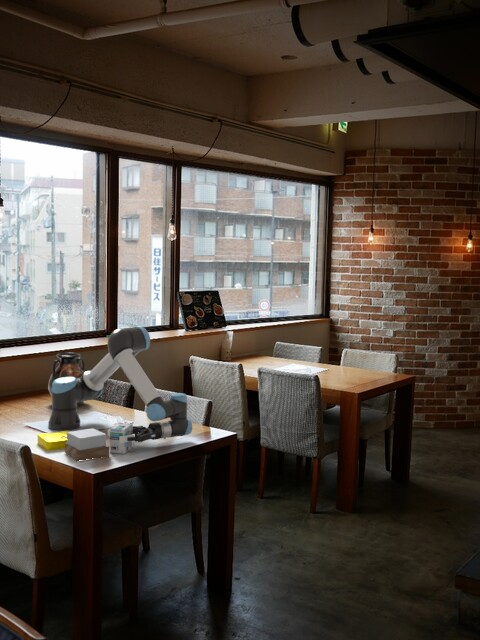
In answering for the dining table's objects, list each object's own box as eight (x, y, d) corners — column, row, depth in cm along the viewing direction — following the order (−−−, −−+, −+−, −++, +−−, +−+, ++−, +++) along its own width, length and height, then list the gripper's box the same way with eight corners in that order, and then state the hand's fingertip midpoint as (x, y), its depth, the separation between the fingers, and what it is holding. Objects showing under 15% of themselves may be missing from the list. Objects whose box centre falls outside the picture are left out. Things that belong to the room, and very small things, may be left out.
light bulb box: (124, 454, 307) (124, 429, 306) (109, 453, 309) (109, 428, 307) (133, 447, 318) (133, 423, 317) (118, 446, 319) (118, 422, 318)
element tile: (68, 439, 330) (68, 429, 329) (80, 447, 317) (80, 436, 317) (36, 443, 322) (36, 433, 321) (46, 452, 309) (46, 441, 309)
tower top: (66, 443, 305) (66, 432, 304) (92, 439, 312) (92, 428, 312) (79, 450, 296) (79, 438, 295) (106, 445, 303) (106, 434, 303)
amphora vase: (76, 398, 413) (76, 350, 410) (95, 405, 397) (96, 355, 394) (41, 403, 399) (41, 353, 396) (59, 410, 383) (59, 358, 380)
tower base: (65, 454, 307) (65, 442, 306) (96, 449, 314) (96, 438, 314) (77, 463, 295) (77, 451, 295) (109, 458, 303) (109, 446, 302)
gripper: (171, 445, 313) (125, 452, 301) (147, 432, 333) (102, 438, 321) (171, 428, 312) (125, 434, 300) (147, 416, 332) (102, 421, 320)
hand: (113, 436), depth 310 cm, fingers closed on light bulb box, 12 cm apart
